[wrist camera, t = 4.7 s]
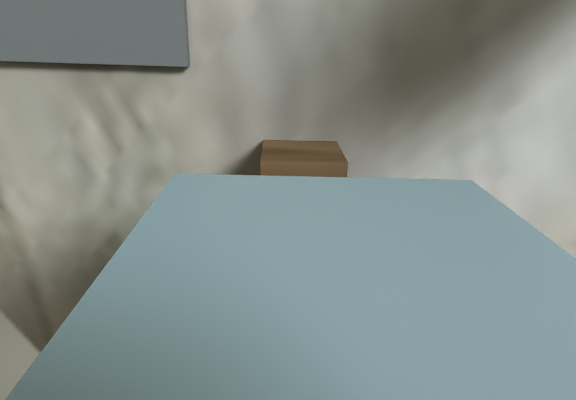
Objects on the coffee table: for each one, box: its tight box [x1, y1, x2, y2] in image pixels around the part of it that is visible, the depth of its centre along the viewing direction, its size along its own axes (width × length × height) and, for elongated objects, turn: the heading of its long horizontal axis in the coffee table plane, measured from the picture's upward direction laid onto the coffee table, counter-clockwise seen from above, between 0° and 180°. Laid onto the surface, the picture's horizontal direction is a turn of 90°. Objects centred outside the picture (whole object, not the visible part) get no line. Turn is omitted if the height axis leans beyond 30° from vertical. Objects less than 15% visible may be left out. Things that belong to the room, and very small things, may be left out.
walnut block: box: [260, 140, 348, 177], centre depth 18 cm, size 4×4×4 cm
